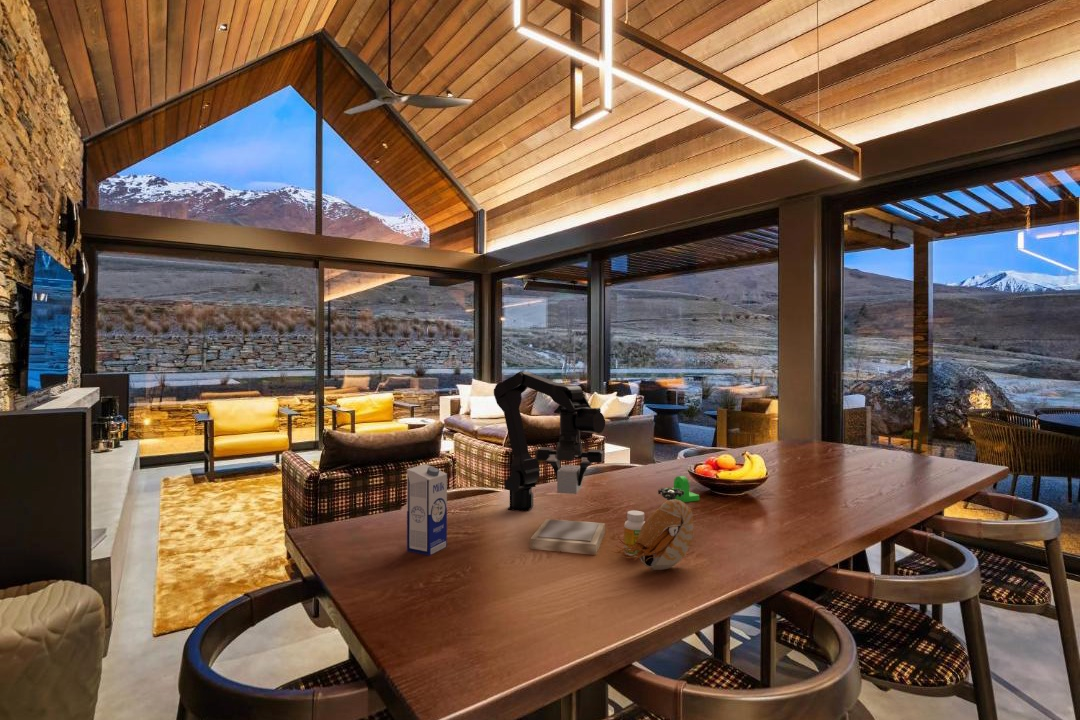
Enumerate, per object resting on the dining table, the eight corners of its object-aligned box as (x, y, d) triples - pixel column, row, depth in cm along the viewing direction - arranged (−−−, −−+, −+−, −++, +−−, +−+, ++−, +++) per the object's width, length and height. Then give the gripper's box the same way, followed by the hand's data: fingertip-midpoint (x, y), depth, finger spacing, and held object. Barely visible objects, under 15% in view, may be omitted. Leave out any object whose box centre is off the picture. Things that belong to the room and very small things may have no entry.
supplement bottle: (633, 559, 125) (633, 517, 125) (619, 551, 130) (619, 511, 130) (651, 555, 128) (652, 514, 128) (637, 548, 132) (637, 508, 132)
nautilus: (604, 574, 116) (605, 504, 116) (679, 557, 127) (679, 492, 127) (628, 588, 109) (628, 514, 109) (705, 568, 120) (705, 500, 120)
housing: (557, 492, 150) (557, 471, 150) (564, 484, 160) (564, 464, 160) (576, 493, 149) (576, 472, 149) (582, 485, 158) (582, 465, 158)
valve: (689, 537, 141) (689, 490, 141) (672, 542, 137) (672, 494, 137) (669, 530, 146) (669, 486, 146) (652, 535, 142) (652, 489, 142)
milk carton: (425, 543, 136) (425, 463, 135) (447, 547, 133) (447, 465, 133) (406, 552, 129) (406, 468, 129) (429, 556, 126) (429, 471, 126)
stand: (530, 549, 131) (530, 537, 131) (546, 527, 148) (546, 517, 148) (595, 555, 128) (595, 543, 128) (604, 532, 144) (604, 522, 144)
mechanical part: (699, 501, 177) (699, 476, 177) (684, 503, 174) (684, 478, 174) (676, 492, 188) (677, 469, 188) (662, 494, 186) (662, 471, 186)
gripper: (530, 432, 148) (530, 489, 148) (598, 435, 144) (598, 494, 144) (540, 427, 159) (540, 480, 159) (604, 429, 155) (604, 484, 155)
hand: (569, 485), depth 154 cm, fingers closed on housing, 5 cm apart
